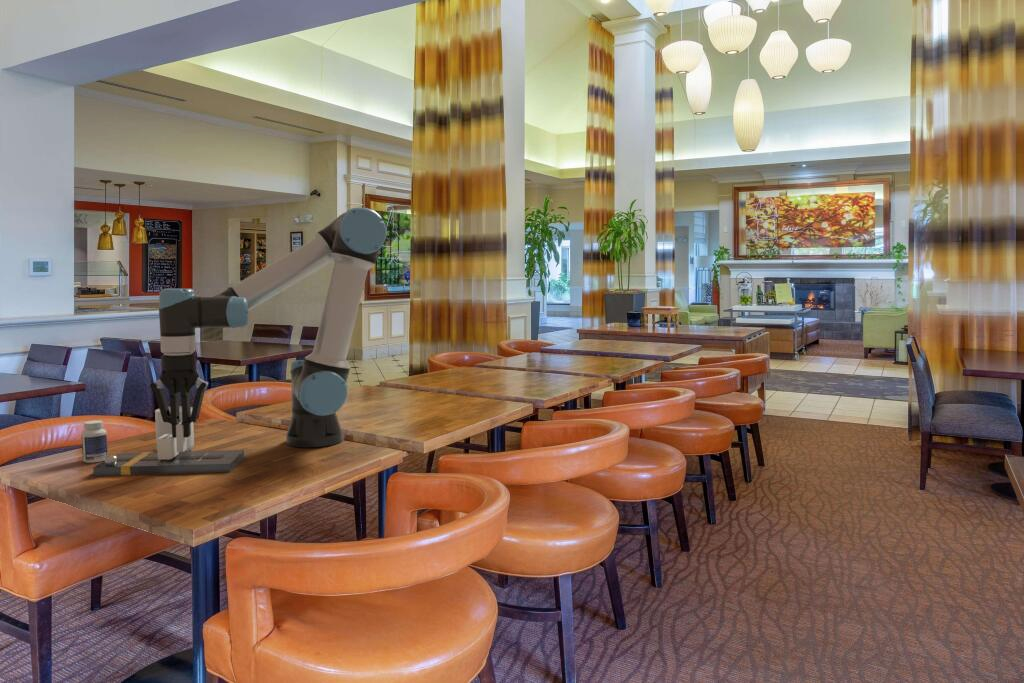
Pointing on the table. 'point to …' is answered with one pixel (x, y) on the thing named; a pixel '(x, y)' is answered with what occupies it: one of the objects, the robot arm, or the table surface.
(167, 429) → the mug
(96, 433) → the pill bottle
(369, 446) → the table surface
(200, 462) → the console board
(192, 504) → the table surface
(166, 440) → the fader tab
